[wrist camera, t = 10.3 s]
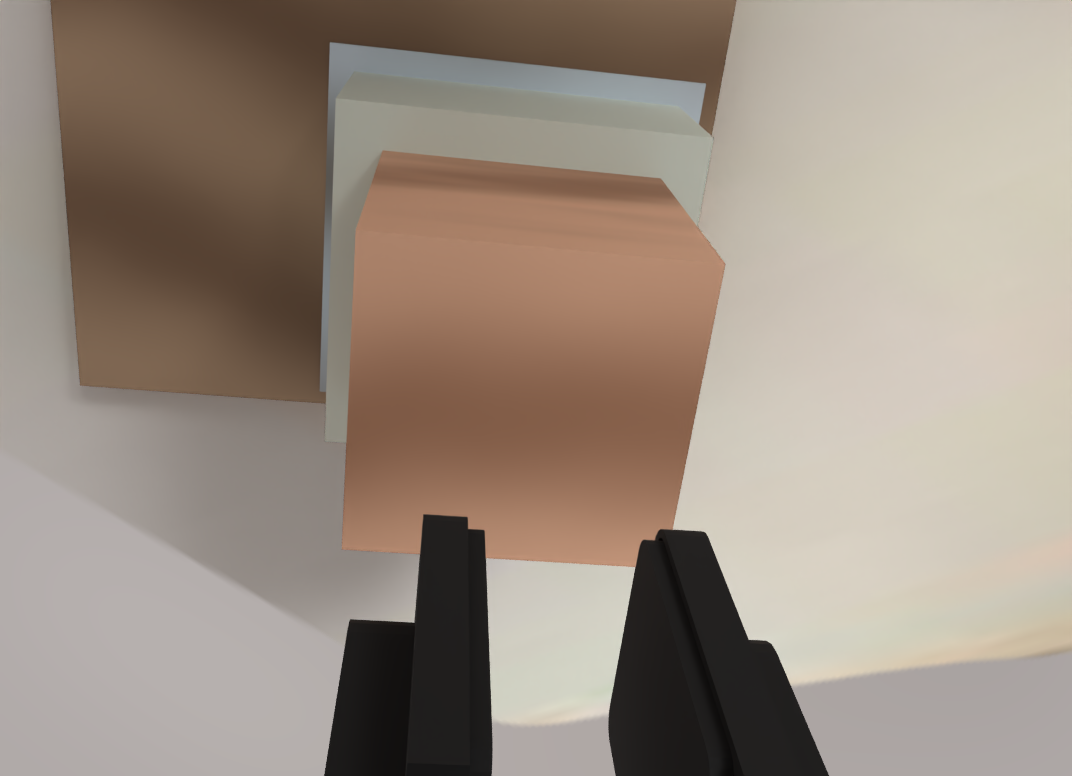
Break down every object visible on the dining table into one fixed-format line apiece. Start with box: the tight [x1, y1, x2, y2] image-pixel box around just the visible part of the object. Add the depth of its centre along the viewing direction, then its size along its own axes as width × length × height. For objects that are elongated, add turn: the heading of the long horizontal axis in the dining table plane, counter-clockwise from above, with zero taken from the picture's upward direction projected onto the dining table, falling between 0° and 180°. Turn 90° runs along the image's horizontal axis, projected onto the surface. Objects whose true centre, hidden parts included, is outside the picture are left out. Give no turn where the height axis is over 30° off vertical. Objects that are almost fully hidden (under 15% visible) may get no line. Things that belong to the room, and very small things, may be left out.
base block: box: [325, 71, 714, 443], centre depth 25 cm, size 8×8×4 cm
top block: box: [342, 150, 725, 567], centre depth 20 cm, size 6×6×6 cm
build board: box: [51, 0, 736, 403], centre depth 25 cm, size 20×16×1 cm
